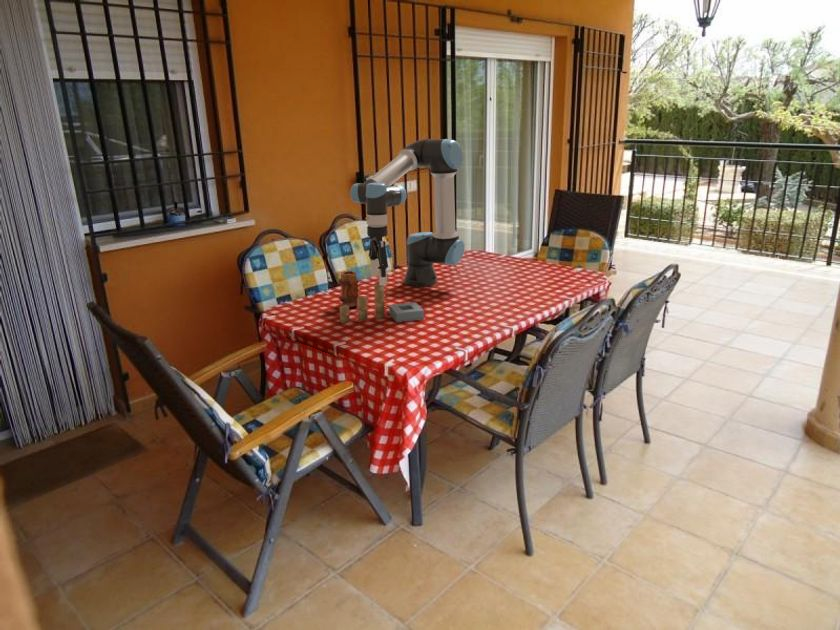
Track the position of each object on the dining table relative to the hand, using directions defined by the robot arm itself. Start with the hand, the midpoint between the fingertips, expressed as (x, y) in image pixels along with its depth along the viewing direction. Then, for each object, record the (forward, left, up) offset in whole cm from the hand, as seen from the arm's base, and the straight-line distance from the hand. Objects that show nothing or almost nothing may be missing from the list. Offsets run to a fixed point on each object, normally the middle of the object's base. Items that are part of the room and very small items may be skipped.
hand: (378, 280), depth 239 cm
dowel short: (+14, 0, -15) cm, 20 cm away
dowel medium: (+7, 0, -15) cm, 17 cm away
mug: (+8, -16, -15) cm, 24 cm away
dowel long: (0, 0, -15) cm, 15 cm away
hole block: (-10, +2, -15) cm, 18 cm away
